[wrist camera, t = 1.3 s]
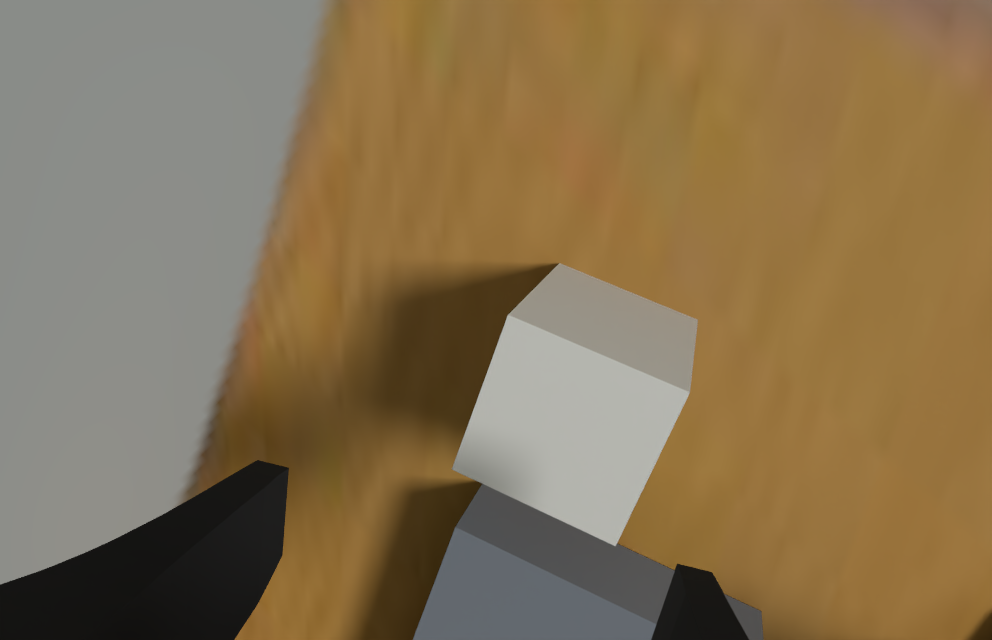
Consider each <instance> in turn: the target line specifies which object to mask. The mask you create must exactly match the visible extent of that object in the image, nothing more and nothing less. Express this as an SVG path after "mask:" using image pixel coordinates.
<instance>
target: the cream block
mask: <svg viewBox="0 0 992 640" xmlns="http://www.w3.org/2000/svg"><path fill="white" fill-rule="evenodd" d="M697 323H698V320H697V319H695V318H692V317H690V316H687V315H685V314H682V313H680V312H677V311H675V310H673V309H670V308H668V307H665V306H663V305H660V304H658V303H655V302H653V301H651V300H648V299H646V298H643V297H641V296H638V295H636V294H633V293H631V292H629V291H626V290H624V289H621V288H619V287H616V286H614V285H612V284H609V283H607V282H604V281H602V280H599V279H597V278H594V277H592V276H590V275H587V274H585V273H582V272H580V271H577V270H575V269H572V268H570V267H568V266H565V265H563V264H560V263H559V264H558V265H557V266H556V267H555V268H554V269H553V270H552V271H551V272H550V273H549V274H548V275H547V276H546V277H545V278H544V279H543V280H542V281H541V282H540V283H539V284H538V285H537V286H536V287H535V288H534V289H533V290H532V291H531V292H530V293H529V294H528V295H527V296H526V297H525V298H524V299H523V300H522V301H521V302H520V303H519V304H518V305H517V306H516V307H515V308H514V309H513V310H512V311H511V312H510V313H509V314H508V316H507V319H506V322H505V325H504V327H503V330H502V333H501V336H500V338H499V341H498V344H497V347H496V349H495V352H494V355H493V358H492V360H491V363H490V366H489V369H488V371H487V374H486V377H485V380H484V382H483V385H482V388H481V391H480V393H479V396H478V399H477V402H476V404H475V407H474V410H473V413H472V415H471V418H470V421H469V424H468V427H467V429H466V432H465V435H464V438H463V440H462V443H461V446H460V449H459V451H458V454H457V457H456V460H455V462H454V465H453V468H452V470H454V471H457V472H459V473H461V474H463V475H465V476H467V477H469V478H471V479H474V480H476V481H478V482H480V483H482V484H484V485H486V486H488V487H491V488H493V489H495V490H497V491H499V492H501V493H503V494H505V495H508V496H510V497H512V498H514V499H516V500H518V501H520V502H522V503H525V504H527V505H529V506H531V507H533V508H535V509H537V510H539V511H542V512H544V513H546V514H548V515H550V516H552V517H554V518H556V519H559V520H561V521H563V522H565V523H567V524H569V525H571V526H573V527H576V528H578V529H580V530H582V531H584V532H586V533H588V534H590V535H593V536H595V537H597V538H599V539H601V540H603V541H605V542H607V543H610V544H612V545H614V546H616V544H617V542H618V540H619V538H620V536H621V534H622V532H623V530H624V528H625V526H626V523H627V521H628V519H629V517H630V515H631V513H632V511H633V509H634V507H635V505H636V503H637V501H638V499H639V497H640V494H641V492H642V490H643V488H644V486H645V484H646V482H647V480H648V478H649V476H650V474H651V472H652V470H653V468H654V466H655V463H656V461H657V459H658V457H659V455H660V453H661V451H662V449H663V447H664V445H665V443H666V441H667V439H668V437H669V434H670V432H671V430H672V428H673V426H674V424H675V422H676V420H677V418H678V416H679V414H680V412H681V410H682V408H683V405H684V403H685V401H686V399H687V397H688V395H689V393H690V386H691V377H692V368H693V359H694V350H695V341H696V332H697Z"/></svg>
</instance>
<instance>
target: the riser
mask: <svg viewBox="0 0 992 640" xmlns="http://www.w3.org/2000/svg"><path fill="white" fill-rule="evenodd" d="M674 572H675V571H674V570H672V569H670V568H668V567H666V566H663V565H661V564H659V563H657V562H655V561H653V560H651V559H649V558H646V557H644V556H642V555H640V554H638V553H636V552H634V551H632V550H629V549H627V548H625V547H623V546H621V545H619V544H616V546H614V545H612V544H610V543H607V542H605V541H603V540H601V539H599V538H597V537H595V536H593V535H590V534H588V533H586V532H584V531H582V530H580V529H578V528H576V527H573V526H571V525H569V524H567V523H565V522H563V521H561V520H559V519H556V518H554V517H552V516H550V515H548V514H546V513H544V512H542V511H539V510H537V509H535V508H533V507H531V506H529V505H527V504H525V503H522V502H520V501H518V500H516V499H514V498H512V497H510V496H508V495H505V494H503V493H501V492H499V491H497V490H495V489H493V488H491V487H488V486H486V485H484V484H482V485H481V487H480V488H479V490H478V492H477V493H476V495H475V496H474V498H473V500H472V501H471V503H470V504H469V506H468V508H467V509H466V511H465V512H464V514H463V516H462V517H461V519H460V520H459V522H458V524H457V525H456V527H455V529H454V532H453V535H452V537H451V540H450V543H449V545H448V548H447V551H446V553H445V556H444V558H443V561H442V564H441V566H440V569H439V572H438V574H437V577H436V580H435V582H434V585H433V588H432V590H431V593H430V595H429V598H428V601H427V603H426V606H425V609H424V611H423V614H422V617H421V619H420V622H419V625H418V627H417V630H416V633H415V635H414V638H413V640H651V639H652V636H653V633H654V630H655V627H656V624H657V621H658V618H659V615H660V613H661V610H662V607H663V604H664V601H665V598H666V595H667V592H668V589H669V586H670V583H671V581H672V578H673V575H674ZM724 595H725V594H724ZM725 597H726V598H727V600H728V602H729V604H730V606H731V608H732V609H733V611H734V613H735V615H736V617H737V619H738V620H739V622H740V624H741V626H742V628H743V629H744V631H745V633H746V635H747V636H748V638H749V640H763V628H762V615H761V611H759V610H757V609H755V608H753V607H751V606H749V605H747V604H744V603H742V602H740V601H738V600H736V599H734V598H732V597H729V596H727V595H725Z"/></svg>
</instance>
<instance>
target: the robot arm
mask: <svg viewBox="0 0 992 640" xmlns="http://www.w3.org/2000/svg"><path fill="white" fill-rule="evenodd" d="M288 471H289V468H287V467H283V466H279V465H275V464H271V463H267V462H263V461H259V460H257V461H255V462H253V463H252V464H250V465H248V466H246V467H245V468H243V469H241V470H240V471H238V472H236V473H234V474H233V475H231V476H229V477H228V478H226V479H224V480H222V481H221V482H219V483H217V484H216V485H214V486H212V487H211V488H209V489H207V490H205V491H204V492H202V493H200V494H199V495H197V496H195V497H193V498H192V499H190V500H188V501H186V502H185V503H183V504H181V505H179V506H177V507H176V508H174V509H172V510H170V511H169V512H167V513H165V514H163V515H162V516H160V517H158V518H156V519H154V520H152V521H150V522H148V523H146V524H144V525H142V526H140V527H138V528H136V529H134V530H132V531H130V532H128V533H127V534H124V535H122V536H120V537H118V538H116V539H114V540H112V541H110V542H108V543H106V544H104V545H101V546H99V547H97V548H95V549H93V550H91V551H88V552H86V553H84V554H81V555H79V556H77V557H74V558H71V559H69V560H67V561H64V562H62V563H59V564H57V565H55V566H52V567H49V568H47V569H44V570H41V571H39V572H36V573H33V574H30V575H27V576H24V577H21V578H18V579H16V580H13V581H10V582H7V583H4V584H1V585H0V640H234V639H235V638H236V636H237V635H238V633H239V632H240V630H241V628H242V627H243V625H244V624H245V622H246V621H247V619H248V618H249V616H250V615H251V613H252V612H253V610H254V609H255V607H256V606H257V604H258V602H259V600H260V598H261V597H262V595H263V593H264V591H265V589H266V587H267V585H268V583H269V581H270V579H271V577H272V575H273V573H274V571H275V569H276V567H277V565H278V563H279V561H280V559H281V557H282V552H283V538H284V525H285V511H286V498H287V484H288ZM651 640H749V638H748V636H747V635H746V633H745V631H744V629H743V628H742V626H741V624H740V622H739V620H738V619H737V617H736V615H735V613H734V611H733V609H732V608H731V606H730V604H729V602H728V600H727V598H726V597H725V595H724V593H723V591H722V589H721V587H720V586H719V584H718V582H717V580H716V578H715V577H714V575H713V573H712V572H709V571H705V570H700V569H696V568H692V567H688V566H684V565H680V564H677V566H676V569H675V572H674V575H673V578H672V581H671V583H670V586H669V589H668V592H667V595H666V598H665V601H664V604H663V607H662V610H661V613H660V615H659V618H658V621H657V624H656V627H655V630H654V633H653V636H652V639H651Z"/></svg>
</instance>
